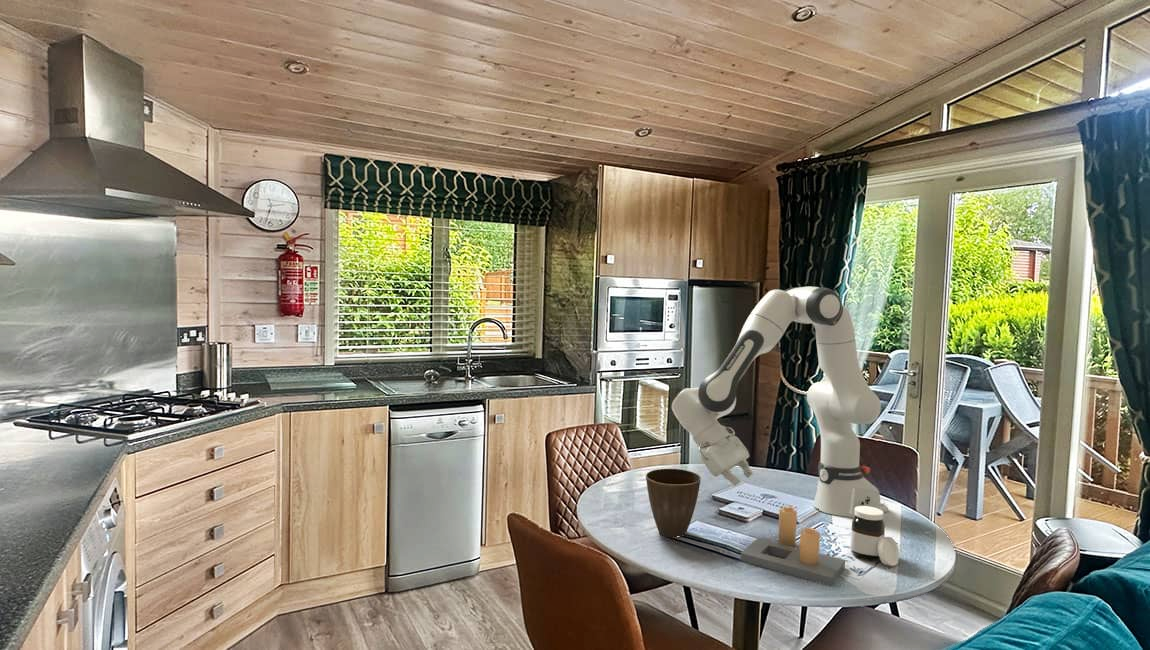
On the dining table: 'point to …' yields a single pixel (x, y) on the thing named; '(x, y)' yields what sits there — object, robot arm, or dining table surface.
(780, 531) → the orange peg
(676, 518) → the plant pot
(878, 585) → the dining table surface
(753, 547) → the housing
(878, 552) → the spread jar
